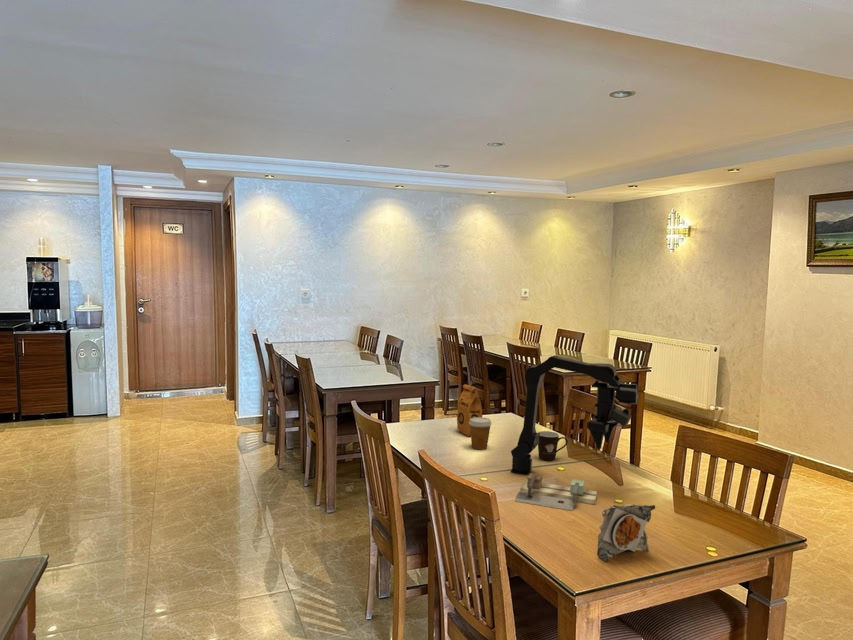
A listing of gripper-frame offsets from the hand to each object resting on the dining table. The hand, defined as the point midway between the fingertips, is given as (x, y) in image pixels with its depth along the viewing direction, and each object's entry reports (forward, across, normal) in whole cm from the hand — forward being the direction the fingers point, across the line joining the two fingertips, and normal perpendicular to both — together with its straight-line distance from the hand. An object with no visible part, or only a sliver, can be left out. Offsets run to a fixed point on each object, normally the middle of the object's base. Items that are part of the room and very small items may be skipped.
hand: (603, 445), depth 194 cm
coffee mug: (+15, +16, +25) cm, 33 cm away
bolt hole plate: (+14, -26, +10) cm, 32 cm away
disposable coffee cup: (+14, +12, +55) cm, 58 cm away
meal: (+15, -46, -20) cm, 52 cm away
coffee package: (+15, +28, +69) cm, 76 cm away
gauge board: (+14, -19, +9) cm, 26 cm away
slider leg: (+13, -19, +2) cm, 23 cm away
